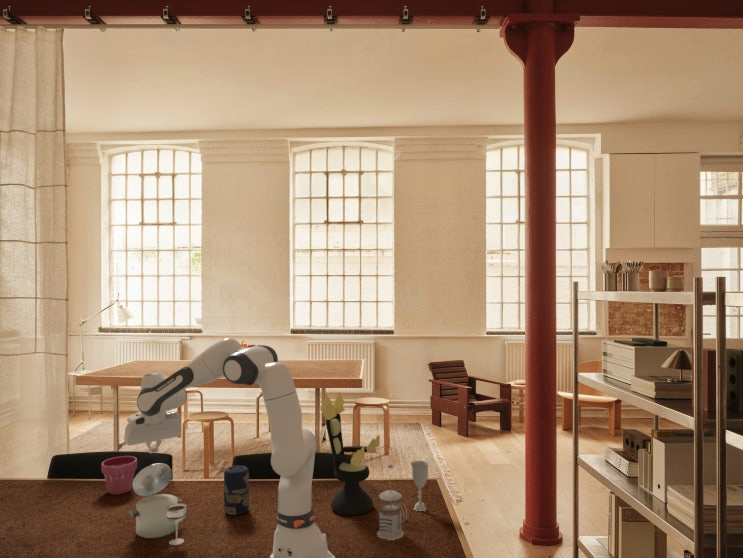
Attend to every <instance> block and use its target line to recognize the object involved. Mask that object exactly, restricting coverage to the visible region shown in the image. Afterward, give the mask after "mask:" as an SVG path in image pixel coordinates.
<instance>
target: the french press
mask: <svg viewBox="0 0 743 558" xmlns="http://www.w3.org/2000/svg"><path fill="white" fill-rule="evenodd" d="M387 468H388V469H393V468H394V466H393V464H392V463H389V464H387ZM391 481H392V480H391V476H389V490H384V491H382V492H381V493H379V495H378V497H379V499H380V500H382V501H386V502H387V503H382V504H381V505H380V509H379V511H378V512H379V515H378V516H379V521H378V522H379V524H378V525H379V530H378V531H377V532H376V536H377V535H378V536H377V537H378V538H379V537H380V538H379V539H381V538H383V539H388V540H387V541H391V540H393V541H396V540H395V539H398V540H400V539H399V538H401V537H402V536H403V535H404V536H405V533H404V531H403V530H402V523H404V522H406V520H407V519H408V518H407V517H408V511H407V507H406V505H405V504H404V502H402V501H400V500H401V498H402V494H401V493H400V492H398V491H395V490H394V489H393V490H392V488H391ZM396 501H400V502H398V503H393V502H396ZM401 504H402V505H403V506H404V508H403V507H402V505H401ZM404 511H406V513H405V512H404ZM391 513H392V514H391ZM402 513H403V514H402ZM405 514H406V515H405ZM402 516H403V518H402ZM405 516H406V517H405ZM404 536H403V537H404ZM403 537H402V538H403ZM402 538H401V539H402ZM383 539H382V540H383Z"/></svg>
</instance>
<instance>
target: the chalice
mask: <svg viewBox="0 0 743 558" xmlns="http://www.w3.org/2000/svg"><path fill="white" fill-rule="evenodd" d="M410 465H411V476H412V480H413V482H414V485H415V486H416V487H417V488H418V491H417V493H418V496H417V499H418V502H416V503H415V504H414V508H413V511H414V510H416V511H415V512H417V511H424V512H426V511H427V508H426V505H425V503H424V502H423V501H422V498H423V496H422V493H423V492H422V488H424V486H425V484H426V483H427V480H428V478H429V465H430V463H429V462H427V461H423V460H413V461H411V462H410ZM425 510H426V511H425Z"/></svg>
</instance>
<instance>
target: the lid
mask: <svg viewBox="0 0 743 558" xmlns="http://www.w3.org/2000/svg"><path fill="white" fill-rule="evenodd" d="M170 467H171V466H169V465H168V464H166V463H162V462H157V463H152V464H150V465H148V466H147V465H146V467H144V468H142V469H141V470H139V472H138V473H136V475H134V478H133V483H132V489H133V491H134V493H135V494H136V495H138V496H141V497H149V496H153V495H156V494H158V493H159V492H161V491H162V490H164V489H165V488H166V487H167V486H168V485H169V483H170V482H171V480H172V477H173V471H172V469H171V468H170Z"/></svg>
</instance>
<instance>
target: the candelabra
mask: <svg viewBox="0 0 743 558" xmlns="http://www.w3.org/2000/svg"><path fill="white" fill-rule="evenodd" d="M324 397H325V398H324V399H323V400H322V404H321V407H320V411H321V413H322V416H323V417H324V421H325V427H326V432H327V435H328V436H327V437H328V441H329V445H330V449H331V453H332V459H333V466H334V470H333V471H334V472H333V473H334V477H335V478H336V479H337V480H338V481H340V482H343V483H344V486H343V487H342V488H341V489H340V490H339V491H337V492H336V494H335V495H334V496H333V497H332V499H331V501H330V507H331V509H332V510H333V511H334V512H335V513H337V514H339V515H344V516H359V515H360V516H361V515H363V514H366V513H368V512H369V511H370V510H371V509H372V508H373V507H374V502H373V498H372V497H371V495H369V494H368V493H367V491H365V490H364V489H363V488H362V487H361V485H360V483H361V482H363V481H365V480H366V479H367V478H369V475H370V469H369V467H368V465H366V464H365V463H363V462H362V460H363V459H365V453H368V454H369V453H370V454H377V448H378V447H380V440H381V439H380V438H381V437H380V436H381V435H380V434H378V435H377V436H376V438H374V437H373V438H372V439H371V440H370V442H369V444H368V445H367V446H357V445H356V446H355V445H354V446H353V445H352V446H351V445H349V446H348V445H347V446H344V444H343V434H342V433H343V432H342V421H341V415H340V414H341V413H344V411H346V409H345V408H344V403H345V400H344V398H343V397H342V395H341V393H340V392H338V394H337V397H336V398H335V401H334V402H332V400H331V398H330V396H329V395H328V393H326V394H325V395H324ZM345 453H354V454H353V455H352V456H347V455H345Z"/></svg>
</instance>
